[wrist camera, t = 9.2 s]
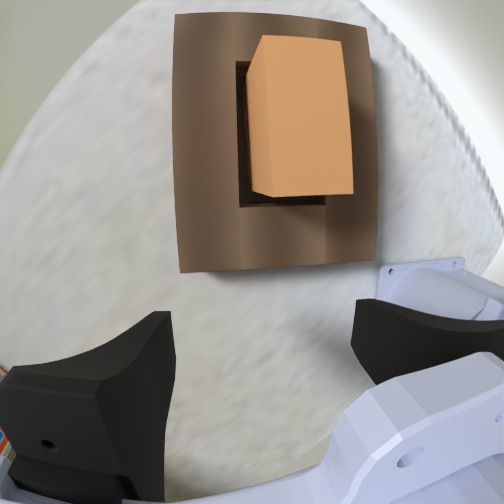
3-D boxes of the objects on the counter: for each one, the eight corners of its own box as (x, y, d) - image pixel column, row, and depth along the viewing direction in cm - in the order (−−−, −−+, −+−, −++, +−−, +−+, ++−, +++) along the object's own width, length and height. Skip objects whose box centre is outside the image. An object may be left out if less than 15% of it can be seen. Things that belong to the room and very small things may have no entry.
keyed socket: (348, 42, 18) (366, 27, 15) (355, 249, 22) (374, 260, 19) (178, 34, 17) (175, 14, 14) (183, 259, 21) (179, 273, 18)
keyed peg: (294, 85, 19) (340, 41, 11) (300, 187, 21) (353, 193, 13) (242, 85, 18) (262, 35, 11) (248, 189, 20) (273, 197, 12)
